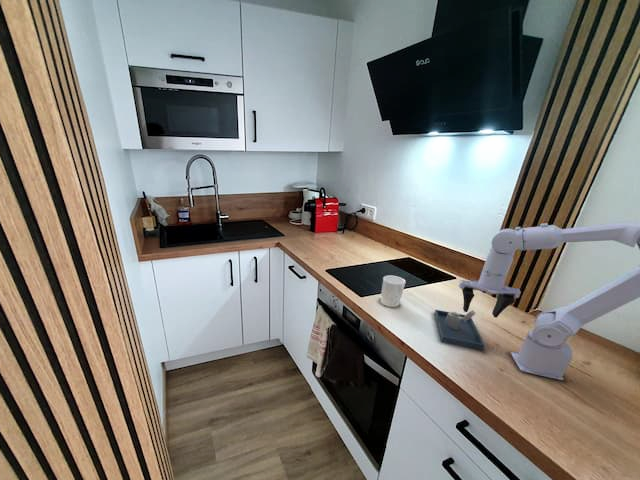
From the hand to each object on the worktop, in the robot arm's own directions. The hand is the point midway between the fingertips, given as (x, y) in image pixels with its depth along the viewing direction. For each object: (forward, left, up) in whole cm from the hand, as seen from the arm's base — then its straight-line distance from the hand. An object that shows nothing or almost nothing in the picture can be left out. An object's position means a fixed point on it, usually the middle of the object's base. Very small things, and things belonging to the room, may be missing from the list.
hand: (479, 313), depth 85 cm
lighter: (+3, -6, -10) cm, 12 cm away
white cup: (+24, -16, -11) cm, 31 cm away
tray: (+3, -5, -10) cm, 12 cm away
